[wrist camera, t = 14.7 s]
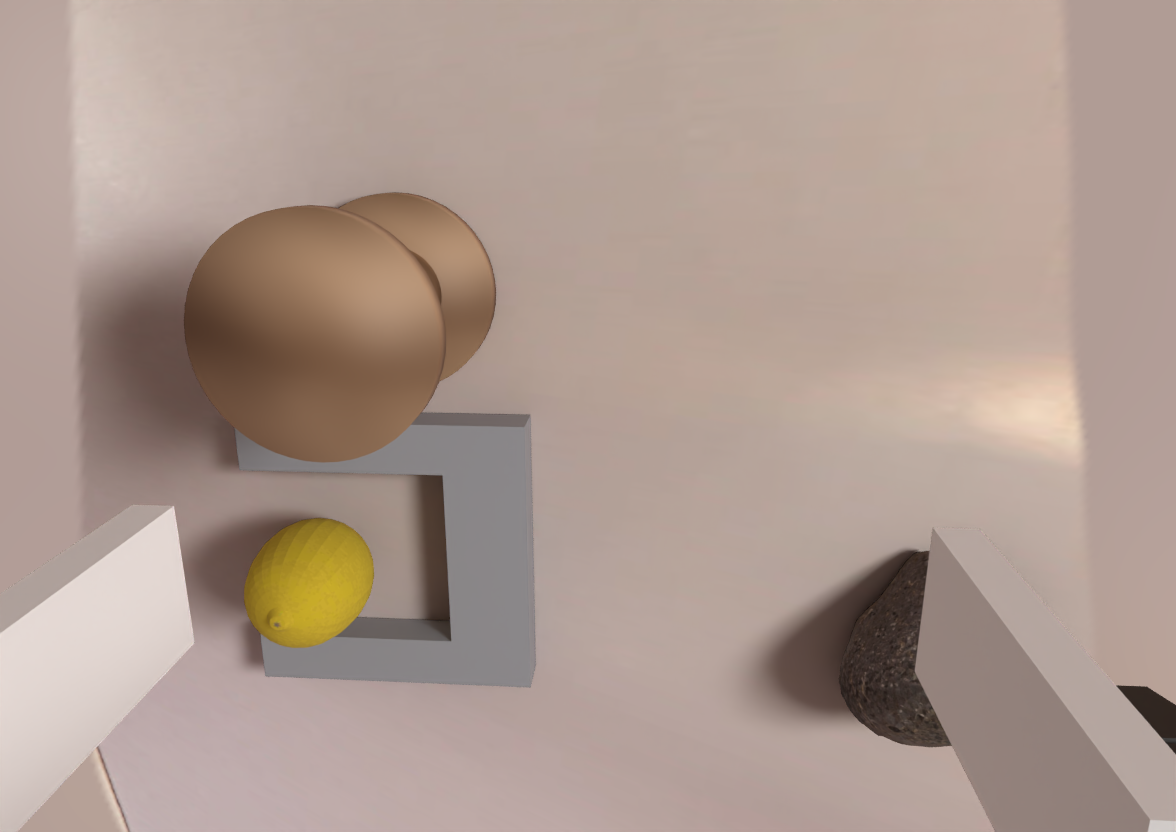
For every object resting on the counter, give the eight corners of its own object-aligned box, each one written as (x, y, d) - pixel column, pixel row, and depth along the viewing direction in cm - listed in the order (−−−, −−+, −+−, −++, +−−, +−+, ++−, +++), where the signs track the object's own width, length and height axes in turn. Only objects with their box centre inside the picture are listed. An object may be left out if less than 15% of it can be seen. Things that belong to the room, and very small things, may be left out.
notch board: (252, 409, 43) (233, 421, 41) (530, 414, 42) (524, 427, 40) (281, 655, 47) (265, 676, 45) (535, 665, 46) (530, 687, 44)
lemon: (277, 568, 46) (201, 652, 38) (305, 478, 44) (232, 547, 36) (375, 606, 46) (319, 697, 38) (407, 518, 44) (355, 595, 37)
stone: (1001, 538, 46) (942, 509, 39) (1109, 686, 42) (1065, 685, 34) (851, 631, 50) (771, 620, 43) (935, 775, 46) (861, 792, 38)
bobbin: (299, 192, 40) (166, 206, 29) (492, 192, 39) (430, 207, 28) (317, 381, 43) (201, 459, 32) (498, 384, 42) (444, 465, 31)
